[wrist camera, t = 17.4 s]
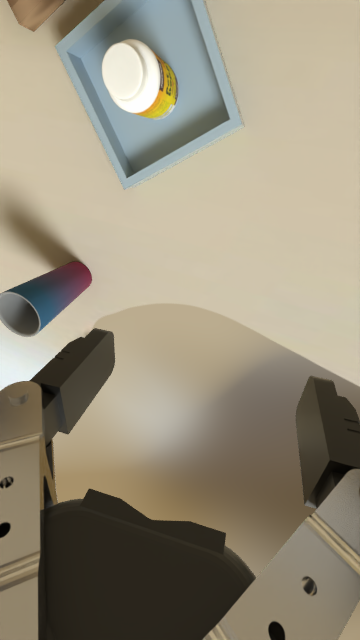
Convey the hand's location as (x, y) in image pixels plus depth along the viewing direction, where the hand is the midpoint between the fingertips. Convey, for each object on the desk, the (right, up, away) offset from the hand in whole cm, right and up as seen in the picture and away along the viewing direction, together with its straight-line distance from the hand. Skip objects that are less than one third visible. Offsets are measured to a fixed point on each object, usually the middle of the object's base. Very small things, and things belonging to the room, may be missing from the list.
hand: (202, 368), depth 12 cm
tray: (-3, +30, +23) cm, 38 cm away
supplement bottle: (-3, +29, +23) cm, 37 cm away
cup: (-19, +10, +40) cm, 45 cm away
